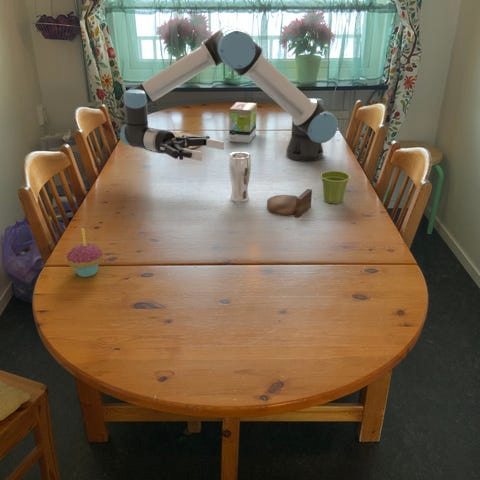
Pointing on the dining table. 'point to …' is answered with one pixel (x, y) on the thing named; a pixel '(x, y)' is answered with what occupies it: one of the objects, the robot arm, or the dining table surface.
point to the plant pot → (334, 186)
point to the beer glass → (239, 175)
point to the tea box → (242, 122)
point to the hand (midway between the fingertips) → (212, 150)
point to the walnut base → (290, 204)
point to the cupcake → (85, 258)
